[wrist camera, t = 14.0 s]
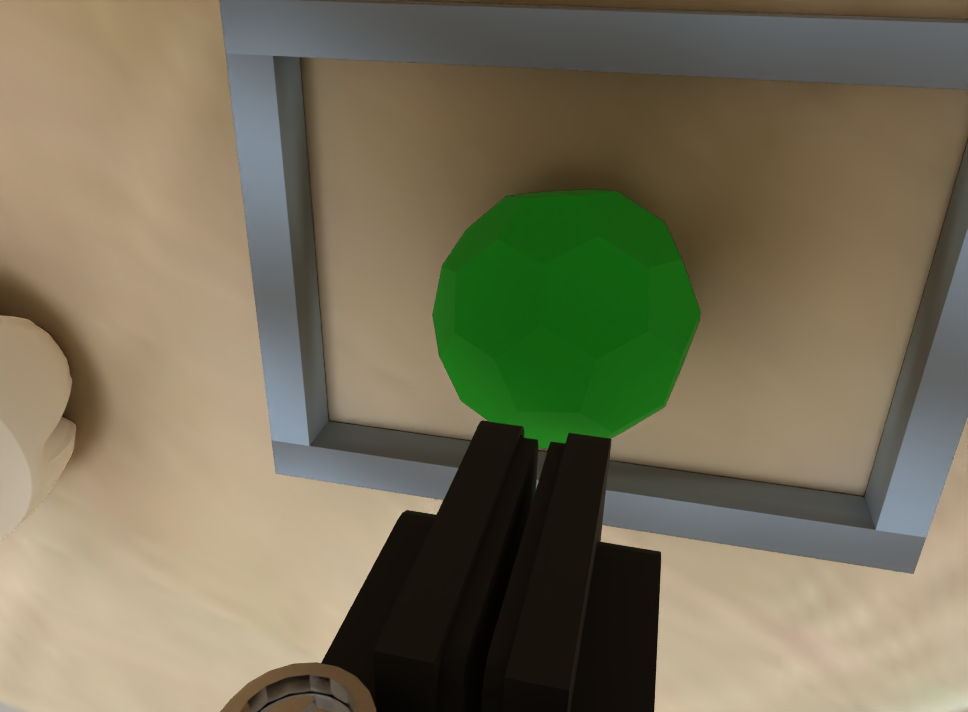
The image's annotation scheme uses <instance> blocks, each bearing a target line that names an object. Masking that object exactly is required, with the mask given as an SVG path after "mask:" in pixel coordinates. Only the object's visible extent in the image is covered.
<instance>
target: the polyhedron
mask: <svg viewBox="0 0 968 712" xmlns="http://www.w3.org/2000/svg"><path fill="white" fill-rule="evenodd" d="M700 313H701V312H700V309H699V306H698V303H697V301H696V298H695V295H694V292H693V289H692V286H691V284H690V281H689V278H688V275H687V272H686V269H685V267H684V264H683V261H682V258H681V256H680V254H679V252H678V250H677V248H676V246H675V243H674V241H673V239H672V237H671V235H670V233H669V231H668V228H667V226H666V224H665V222H663V221H662V220H660V219H659V218H657V217H656V216H654V215H653V214H651V213H650V212H648V211H646V210H645V209H643V208H642V207H640V206H639V205H637V204H636V203H634V202H633V201H631V200H629V199H628V198H626V197H625V196H623V195H622V194H620V193H619V192H617V191H610V190H596V189H588V190H568V191H547V192H536V193H528V194H520V195H512V196H506V197H505V198H504V199H502V200H501V201H500V202H499V203H498V204H496V205H495V206H494V207H493V208H492V209H490V210H489V211H488V212H487V213H486V214H485V215H483V216H482V217H481V218H480V219H479V220H477V221H476V222H475V223H474V224H473V225H471V226H470V227H469V228H468V229H467V230H466V231H465V232H464V234H463V235H462V237H461V238H460V240H459V241H458V243H457V244H456V246H455V247H454V249H453V250H452V252H451V253H450V255H449V256H448V258H447V259H446V261H445V262H444V264H443V265H442V269H441V274H440V279H439V284H438V289H437V294H436V300H435V305H434V310H433V321H434V327H435V333H436V340H437V346H438V352H439V357H440V359H441V361H442V363H443V365H444V367H445V369H446V371H447V373H448V375H449V377H450V379H451V381H452V383H453V385H454V387H455V389H456V392H457V394H458V396H459V398H460V400H461V401H462V402H463V403H465V404H466V405H467V406H469V407H470V408H472V409H473V410H474V411H476V412H477V413H478V414H480V415H481V416H482V417H484V418H485V419H487V420H488V421H489V422H496V423H503V424H510V425H518V426H523V427H524V438H530V439H537V440H538V444H539V447H538V448H549V444H550V442H558V443H565V444H566V440H567V436H568V433H575V434H582V435H590V436H597V437H604V438H613V437H615V436H617V435H619V434H621V433H622V432H624V431H626V430H627V429H629V428H631V427H632V426H634V425H636V424H637V423H639V422H641V421H642V420H644V419H645V418H647V417H649V416H650V415H652V414H654V413H655V412H657V411H659V410H660V409H662V408H664V407H665V406H666V403H667V401H668V399H669V396H670V394H671V391H672V389H673V387H674V384H675V382H676V380H677V377H678V375H679V373H680V370H681V368H682V365H683V363H684V360H685V357H686V355H687V352H688V349H689V347H690V344H691V342H692V339H693V336H694V334H695V331H696V328H697V326H698V323H699V320H700Z"/></svg>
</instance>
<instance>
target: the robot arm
mask: <svg viewBox="0 0 968 712" xmlns="http://www.w3.org/2000/svg"><path fill="white" fill-rule="evenodd" d="M538 447H539V444H538V440H537V439H530V438H524V427H523V426H518V425H510V424H503V423H496V422H489V421H481V422H480V423H479V425H478V427H477V429H476V431H475V434H474V436H473V438H472V440H471V442H470V444H469V447H468V449H467V451H466V453H465V455H464V457H463V459H462V462H461V464H460V466H459V468H458V470H457V472H456V474H455V477H454V479H453V481H452V483H451V485H450V487H449V490H448V492H447V494H446V496H445V498H444V500H443V502H442V505H441V507H440V509H439V511H438V513H437V515H434V514H427V513H421V512H415V511H409V510H407V511H405V512H403V513H402V514H401V516H400V517H399V519H398V520H397V522H396V524H395V526H394V528H393V530H392V531H391V533H390V535H389V537H388V539H387V541H386V543H385V545H384V546H383V548H382V550H381V552H380V554H379V556H378V558H377V560H376V561H375V563H374V565H373V567H372V569H371V571H370V573H369V575H368V576H367V578H366V580H365V582H364V584H363V586H362V588H361V590H360V592H359V593H358V595H357V597H356V599H355V601H354V603H353V605H352V607H351V608H350V610H349V612H348V614H347V616H346V618H345V620H344V622H343V623H342V625H341V627H340V629H339V631H338V633H337V635H336V637H335V638H334V640H333V642H332V644H331V646H330V648H329V650H328V652H327V653H326V655H325V657H324V659H323V661H322V663H317V662H316V663H298V664H291V665H288V666H284V667H281V668H277V669H274V670H271V671H269V672H267V673H265V674H263V675H261V676H260V677H258V678H256V679H254V680H253V681H251V682H249V683H248V684H247V685H246V686H244V687H243V688H242V689H241V690H240V691H239V692H238V693H237V694H236V695H235V696H234V697H233V698H232V699H230V701H229V702H228V703H227V704H226V705H225V707H224V708H223V709H222V710H221V711H220V712H654V703H655V681H656V659H657V637H658V615H659V594H660V572H661V552H659V551H653V550H647V549H641V548H635V547H628V546H622V545H616V544H610V543H604V542H600V540H601V531H602V522H603V513H604V504H605V495H606V486H607V476H608V467H609V458H610V449H611V438H604V437H597V436H590V435H582V434H575V433H568V436H567V440H566V444H565V443H558V442H550V444H549V448H548V451H547V454H546V458H545V461H544V465H543V468H542V471H541V475H540V478H539V482H538V485H537V488H536V481H537V465H538Z"/></svg>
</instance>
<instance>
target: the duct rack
mask: <svg viewBox="0 0 968 712" xmlns="http://www.w3.org/2000/svg"><path fill="white" fill-rule="evenodd" d="M219 1H220V9H221V18H222V26H223V34H224V43H225V51H226V60H227V68H228V76H229V85H230V93H231V102H232V110H233V119H234V127H235V135H236V144H237V152H238V161H239V169H240V178H241V186H242V194H243V203H244V211H245V220H246V228H247V236H248V245H249V253H250V262H251V270H252V279H253V287H254V295H255V304H256V312H257V321H258V329H259V338H260V346H261V354H262V363H263V371H264V380H265V388H266V396H267V405H268V413H269V422H270V430H271V439H272V447H273V455H274V464H275V472H276V474H281V475H287V476H293V477H300V478H306V479H313V480H319V481H325V482H332V483H338V484H344V485H351V486H357V487H364V488H370V489H376V490H383V491H389V492H395V493H402V494H408V495H415V496H421V497H427V498H434V499H440V500H444V498H445V496H446V494H447V492H448V490H449V487H450V485H451V483H452V481H453V479H454V477H455V474H456V472H457V470H458V468H459V466H460V464H461V462H462V459H463V457H464V455H465V453H466V451H467V449H468V447H469V444H470V442H471V441H465V440H458V439H451V438H444V437H437V436H430V435H423V434H416V433H409V432H401V431H394V430H387V429H380V428H373V427H366V426H359V425H352V424H345V423H338V422H331V421H329V420H328V407H327V395H326V382H325V370H324V357H323V344H322V332H321V319H320V307H319V294H318V282H317V269H316V256H315V244H314V231H313V219H312V206H311V194H310V181H309V168H308V156H307V143H306V131H305V118H304V105H303V93H302V80H301V68H300V57H308V58H329V59H349V60H370V61H390V62H411V63H431V64H451V65H472V66H492V67H513V68H533V69H554V70H574V71H594V72H615V73H635V74H656V75H676V76H696V77H717V78H737V79H758V80H778V81H799V82H819V83H839V84H860V85H880V86H901V87H921V88H941V89H962V90H968V20H967V19H937V18H907V17H877V16H848V15H818V14H788V13H758V12H728V11H699V10H669V9H639V8H609V7H579V6H550V5H520V4H490V3H460V2H430V1H401V0H219ZM967 417H968V142H967V146H966V149H965V152H964V156H963V159H962V163H961V166H960V170H959V173H958V177H957V180H956V183H955V187H954V190H953V194H952V197H951V201H950V204H949V208H948V211H947V214H946V218H945V221H944V225H943V228H942V232H941V235H940V239H939V242H938V245H937V249H936V252H935V256H934V259H933V263H932V266H931V270H930V273H929V276H928V280H927V283H926V287H925V290H924V294H923V297H922V301H921V304H920V307H919V311H918V314H917V318H916V321H915V325H914V328H913V332H912V335H911V338H910V342H909V345H908V349H907V352H906V356H905V359H904V363H903V366H902V369H901V373H900V376H899V380H898V383H897V387H896V390H895V394H894V397H893V400H892V404H891V407H890V411H889V414H888V418H887V421H886V425H885V428H884V431H883V435H882V438H881V442H880V445H879V449H878V452H877V456H876V459H875V462H874V466H873V469H872V473H871V476H870V480H869V483H868V487H867V490H866V493H865V497H861V496H854V495H847V494H840V493H833V492H826V491H818V490H811V489H804V488H797V487H790V486H783V485H776V484H769V483H762V482H755V481H748V480H741V479H734V478H727V477H720V476H712V475H705V474H698V473H691V472H684V471H677V470H670V469H663V468H656V467H649V466H642V465H635V464H628V463H621V462H614V461H609V467H608V476H607V486H606V495H605V504H604V513H603V522H602V525H606V526H612V527H618V528H625V529H631V530H637V531H644V532H650V533H657V534H663V535H669V536H676V537H682V538H688V539H695V540H701V541H708V542H714V543H720V544H727V545H733V546H739V547H746V548H752V549H758V550H765V551H771V552H778V553H784V554H790V555H797V556H803V557H809V558H816V559H822V560H829V561H835V562H841V563H848V564H854V565H860V566H867V567H873V568H880V569H886V570H892V571H899V572H905V573H911V574H914V571H915V568H916V565H917V562H918V559H919V556H920V554H921V551H922V548H923V545H924V542H925V539H926V536H927V533H928V530H929V527H930V524H931V521H932V519H933V516H934V513H935V510H936V507H937V504H938V501H939V498H940V495H941V492H942V489H943V487H944V484H945V481H946V478H947V475H948V472H949V469H950V466H951V463H952V460H953V457H954V454H955V452H956V449H957V446H958V443H959V440H960V437H961V434H962V431H963V428H964V425H965V422H966V419H967ZM546 454H547V452H543V451H538V465H537V481H536V488H537V485H538V482H539V478H540V475H541V471H542V468H543V465H544V461H545V458H546Z"/></svg>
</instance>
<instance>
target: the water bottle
mask: <svg viewBox="0 0 968 712" xmlns="http://www.w3.org/2000/svg"><path fill="white" fill-rule="evenodd" d="M71 386H72V378H71V376H70V370H69V366H68V361H67V359H66V357H65V356H64V354H63V352H62V351H61V349H60V348H59V346H58V345H57V343H56V342H55V341H54V340H53V338H52V337H51V336H50V335H49V334H48V333H47V332H46V331H44V330H43V329H41V328H40V327H39V326H36V325H35V324H34V323H33V322H32V321H30V320H28V319H24V318H19V317H14V316H1V315H0V540H2V539H3V538H5V537H6V536H7V535H8V534H10V533H11V532H12V531H13V530H14V529H15V528H16V527H17V526H18V525H19V524H20V523H22V522H23V521H24V520H25V519H26V518H27V517H28V516H29V515H30V514H31V513H32V512H33V511H34V510H35V509H36V508H37V507H38V506H39V505H40V504H41V503H42V501H43V500H44V499H45V498H46V496H47V495H48V494H49V492H50V491H51V490H52V488H53V487H54V486H55V484H56V482H57V481H58V479H59V477H60V476H61V474H62V472H63V470H64V469H65V467H66V465H67V463H68V461H69V459H70V458H71V455H72V453H73V450H74V443H75V433H76V425H75V424H74V423H73V422H72V421H70V420H68V419H66V418H64V417H61V416H62V414H63V412H64V410H65V408H66V405H67V402H68V399H69V396H70V392H71Z"/></svg>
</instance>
